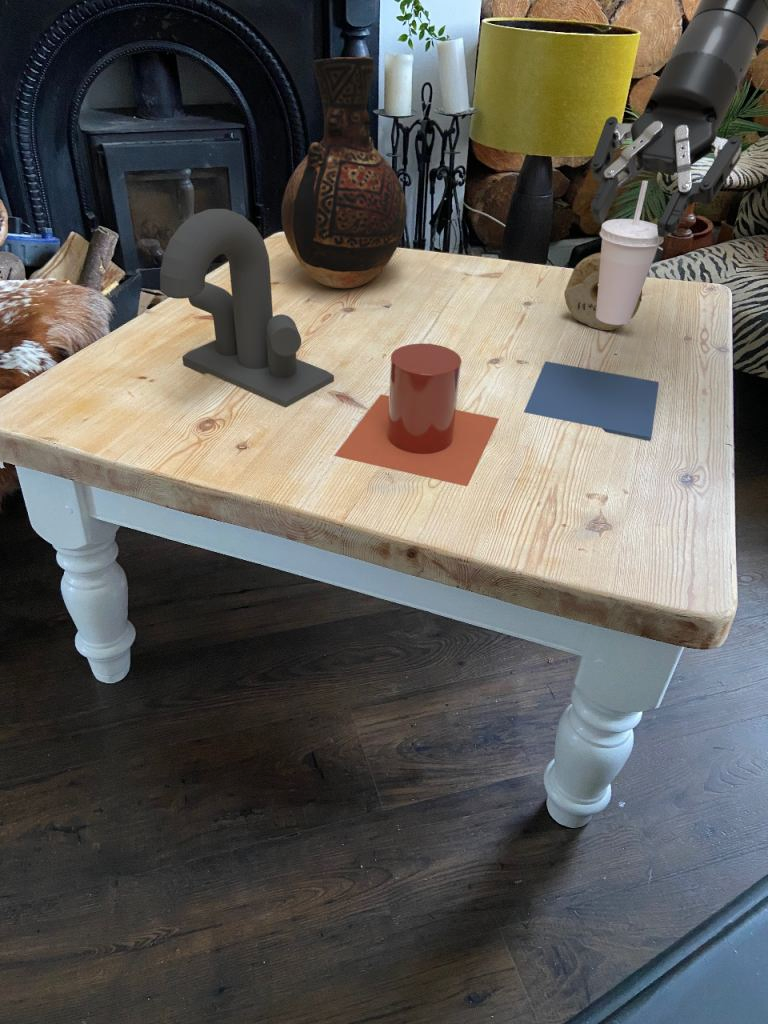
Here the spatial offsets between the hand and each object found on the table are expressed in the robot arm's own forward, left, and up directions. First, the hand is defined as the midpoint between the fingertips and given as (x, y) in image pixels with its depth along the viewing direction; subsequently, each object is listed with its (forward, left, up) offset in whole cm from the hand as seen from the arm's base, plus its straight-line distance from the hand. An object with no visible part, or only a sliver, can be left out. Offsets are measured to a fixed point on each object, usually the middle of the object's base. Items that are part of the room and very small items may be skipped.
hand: (628, 225), depth 74 cm
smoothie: (-1, -1, -11) cm, 11 cm away
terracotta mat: (+22, +2, -20) cm, 30 cm away
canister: (+22, +2, -20) cm, 30 cm away
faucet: (+39, -15, -21) cm, 46 cm away
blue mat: (-1, -1, -20) cm, 20 cm away
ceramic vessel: (+17, -45, -21) cm, 52 cm away
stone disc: (-13, -20, -21) cm, 32 cm away
